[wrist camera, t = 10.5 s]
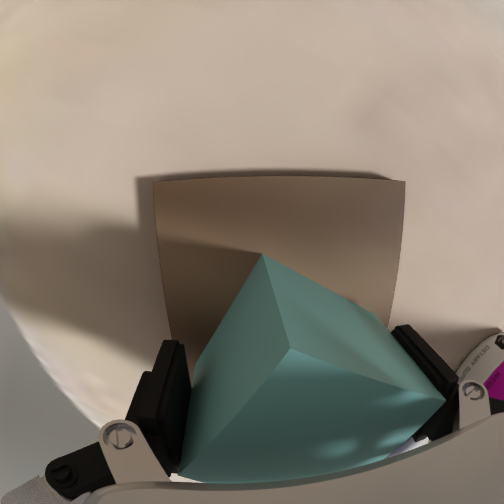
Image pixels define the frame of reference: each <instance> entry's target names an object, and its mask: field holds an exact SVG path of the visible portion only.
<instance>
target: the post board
mask: <svg viewBox="0 0 504 504" xmlns="http://www.w3.org/2000/svg"><path fill="white" fill-rule="evenodd" d="M153 192H154V207H155V219H156V230H157V240H158V249H159V258H160V266H161V274H162V281H163V288H164V295H165V301H166V307H167V313H168V319H169V325H170V330H171V336H172V340H178V341H179V343H180V344H184V347H185V353H186V359H187V365H188V370H189V376H190V381H191V386H192V381H193V375H194V369H195V364H196V362H197V361H198V359H199V357H200V356H201V354H202V352H203V351H204V349H205V348H206V346H207V344H208V343H209V341H210V339H211V338H212V336H213V334H214V333H215V331H216V330H217V328H218V326H219V325H220V323H221V321H222V320H223V318H224V316H225V315H226V313H227V311H228V310H229V308H230V306H231V305H232V303H233V301H234V300H235V298H236V297H237V295H238V293H239V292H240V290H241V288H242V287H243V285H244V283H245V282H246V280H247V278H248V277H249V275H250V273H251V272H252V270H253V268H254V267H255V265H256V263H257V262H258V260H259V258H260V257H261V255H262V254H264V255H266V256H268V257H269V258H271V259H273V260H275V261H277V262H279V263H281V264H283V265H284V266H286V267H288V268H290V269H292V270H294V271H296V272H297V273H299V274H301V275H303V276H305V277H307V278H309V279H310V280H312V281H314V282H316V283H318V284H320V285H322V286H323V287H325V288H327V289H329V290H331V291H333V292H335V293H336V294H338V295H340V296H342V297H344V298H346V299H348V300H349V301H351V302H353V303H355V304H357V305H359V306H361V307H362V308H364V309H366V310H368V311H370V312H372V313H374V314H375V315H376V316H377V317H378V318H379V320H380V321H381V322H382V323H383V324H384V325H385V327H386V328H387V327H388V323H389V318H390V313H391V308H392V303H393V297H394V292H395V286H396V280H397V273H398V266H399V259H400V251H401V242H402V231H403V219H404V204H405V181H398V180H387V179H373V178H356V177H332V176H237V177H214V178H196V179H181V180H169V181H158V182H153Z"/></svg>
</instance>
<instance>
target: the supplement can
mask: <svg viewBox="0 0 504 504" xmlns="http://www.w3.org/2000/svg"><path fill="white" fill-rule="evenodd" d="M456 375H457V376H458V377H459V380H458V384H459V385H460V384H461V383H462V382H463V381H465V380H475V381H478V382H480V383H482V384H483V385H484V386H485V387H486V389H487V392H488V397H491V398H495V399H499V400H504V332H503V333H499V334H497V335H492V336H490V337H489V338H487V339H486V340H484V341H483V342H481V343H480V344H479V345H478V346H477V347H476V348H475V349H474V350H473V351H472V352H471V353H470V354H469V356H468V357H467V358H466V359H465V361H464V362H463V363H462V364H461V365H460V367H459V369H458V370H457V372H456Z"/></svg>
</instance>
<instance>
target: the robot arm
mask: <svg viewBox="0 0 504 504" xmlns="http://www.w3.org/2000/svg"><path fill="white" fill-rule="evenodd" d="M391 334H392V335H393V336H394V338H395V339H396V340H397V341H398V342H399V344H400V345H401V346H402V347H403V348H404V349H405V351H406V352H407V353H408V354H409V355H410V357H411V358H412V359H413V360H414V362H415V363H416V364H417V365H418V366H419V368H420V369H421V370H422V371H423V373H424V374H425V375H426V376H427V378H428V379H429V380H430V381H431V383H432V384H433V385H434V386H435V388H436V389H437V390H438V391H439V392H440V393H441V395H442V396H443V397H444V398H445V400H446V401H445V403H444V404H443V405H442V406H441V407H440V408H439V409H438V410H437V411H436V412H435V413H434V414H433V415H432V416H431V417H430V418H429V419H428V420H427V421H426V422H425V423H424V424H423V425H422V426H421V427H420V428H419V429H418V430H417V431H416V432H415V433H414V434H413V435H412V436H410V437H413V439H414V441H415V442H418V441H420V440H423V439H425V438H426V437H428V438H429V442H428V444H426V445H423V446H421V447H418V448H415V449H413V450H410V451H407V452H405V453H402V454H399V455H396V456H393V457H390V458H387V459H384V460H380V461H377V462H374V463H370V464H367V465H363V466H359V467H355V468H351V469H347V470H342V471H338V472H333V473H328V474H323V475H317V476H311V477H304V478H297V479H289V480H280V481H269V482H254V483H192V482H171V480H170V479H169V477H170V476H171V473H177V474H178V468H179V464H180V462H181V455H182V448H183V441H184V434H185V428H186V421H187V415H188V409H189V402H190V396H191V390H192V387H191V381H190V376H189V370H188V365H187V359H186V353H185V347H184V344H180V343H179V341H178V340H164V341H163V343H162V345H161V348H160V351H159V353H158V356H157V359H156V361H155V364H154V367H153V369H152V372H150V371H145V372H143V374H142V376H141V379H140V381H139V384H138V386H137V389H136V392H135V394H134V397H133V399H132V402H131V405H130V407H129V410H128V413H127V415H126V418H125V420H120V419H119V420H113V421H111V422H108V423H106V424H105V425H104V426H103V427H102V428H101V430H100V431H99V435H98V438H99V441H98V442H96V443H94V444H91V445H89V446H87V447H84V448H82V449H80V450H77V451H75V452H72V453H70V454H67V455H65V456H62V457H59V458H57V459H55V460H53V461H51V462H50V463H49V464H48V465H47V467H46V471H45V476H43V477H40V476H39V475H38V476H36V477H35V478H33V479H31V480H29V481H28V482H26V483H24V484H23V485H21V486H19V487H17V488H16V489H14V490H12V491H10V492H8V493H6V494H5V495H4V496H3V497H2V500H1V504H504V400H499V399H495V398H491V397H488V392H487V389H486V387H485V386H484V385H483V384H482V383H480V382H478V381H475V380H465V381H463V382H462V383H461V384H460V385H459V384H458V380H459V377H458V376H457V375H456V373H455V372H454V371H453V370H452V369H451V368H450V367H449V366H448V365H447V364H446V363H445V361H444V360H443V359H442V358H441V357H440V356H439V355H438V354H437V353H436V352H435V351H434V350H433V349H432V348H431V347H430V346H429V345H428V344H427V342H426V341H425V340H424V339H423V338H422V337H421V336H420V335H419V334H418V333H417V332H416V331H415V330H414V329H413V328H412V327H411V326H410V325H401V326H396V327H395V329H394V330H393V331H392V332H391Z"/></svg>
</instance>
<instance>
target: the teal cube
mask: <svg viewBox="0 0 504 504" xmlns="http://www.w3.org/2000/svg"><path fill="white" fill-rule="evenodd" d="M191 387H192V390H191V396H190V402H189V409H188V415H187V421H186V428H185V434H184V441H183V448H182V455H181V462H180V464H179V469H178V475H179V476H182V477H185V478H189V479H192V480H196V481H200V482H204V483H254V482H269V481H280V480H289V479H297V478H304V477H311V476H317V475H323V474H328V473H333V472H338V471H342V470H347V469H351V468H355V467H359V466H363V465H367V464H370V463H374V462H377V461H380V460H383V459H384V458H386V457H387V456H388V455H389V454H391V453H392V452H393V451H394V450H395V449H397V448H398V447H399V446H400V445H401V444H403V443H404V442H405V441H406V440H407V439H408V438H409V437H410V436H412V435H413V434H414V433H415V432H416V431H417V430H418V429H419V428H420V427H421V426H422V425H423V424H424V423H425V422H426V421H427V420H428V419H429V418H430V417H431V416H432V415H433V414H434V413H435V412H436V411H437V410H438V409H439V408H440V407H441V406H442V405H443V404H444V403H445V401H446V400H445V398H444V397H443V396H442V395H441V393H440V392H439V391H438V390H437V389H436V388H435V386H434V385H433V384H432V383H431V381H430V380H429V379H428V378H427V376H426V375H425V374H424V373H423V371H422V370H421V369H420V368H419V366H418V365H417V364H416V363H415V362H414V360H413V359H412V358H411V357H410V355H409V354H408V353H407V352H406V351H405V349H404V348H403V347H402V346H401V345H400V344H399V342H398V341H397V340H396V339H395V338H394V336H393V335H392V334H391V332H390V331H389V330H388V329H387V328H386V327H385V325H384V324H383V323H382V322H381V321H380V320H379V318H378V317H377V316H376V315H375V314H374V313H372V312H370V311H368V310H366V309H364V308H362V307H361V306H359V305H357V304H355V303H353V302H351V301H349V300H348V299H346V298H344V297H342V296H340V295H338V294H336V293H335V292H333V291H331V290H329V289H327V288H325V287H323V286H322V285H320V284H318V283H316V282H314V281H312V280H310V279H309V278H307V277H305V276H303V275H301V274H299V273H297V272H296V271H294V270H292V269H290V268H288V267H286V266H284V265H283V264H281V263H279V262H277V261H275V260H273V259H271V258H269V257H268V256H266V255H264V254H262V255H261V257H260V258H259V260H258V262H257V263H256V265H255V267H254V268H253V270H252V272H251V273H250V275H249V277H248V278H247V280H246V282H245V283H244V285H243V287H242V288H241V290H240V292H239V293H238V295H237V297H236V298H235V300H234V301H233V303H232V305H231V306H230V308H229V310H228V311H227V313H226V315H225V316H224V318H223V320H222V321H221V323H220V325H219V326H218V328H217V330H216V331H215V333H214V334H213V336H212V338H211V339H210V341H209V343H208V344H207V346H206V348H205V349H204V351H203V352H202V354H201V356H200V357H199V359H198V361H197V362H196V364H195V369H194V375H193V381H192V386H191Z"/></svg>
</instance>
